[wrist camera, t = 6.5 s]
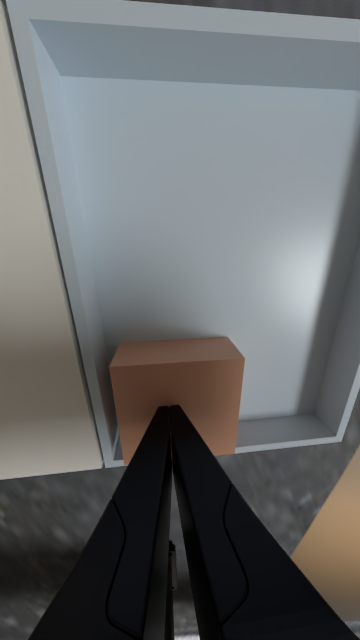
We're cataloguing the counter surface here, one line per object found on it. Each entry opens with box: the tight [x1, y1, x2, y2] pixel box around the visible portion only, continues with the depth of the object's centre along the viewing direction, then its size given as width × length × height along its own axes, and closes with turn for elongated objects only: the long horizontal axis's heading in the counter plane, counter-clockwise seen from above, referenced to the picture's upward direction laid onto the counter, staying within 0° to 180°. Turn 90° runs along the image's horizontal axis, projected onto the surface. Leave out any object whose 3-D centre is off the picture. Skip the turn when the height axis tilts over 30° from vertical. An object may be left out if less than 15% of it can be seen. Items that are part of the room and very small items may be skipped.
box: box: [6, 0, 360, 468], centre depth 8 cm, size 15×12×2 cm
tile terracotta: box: [109, 337, 245, 465], centre depth 9 cm, size 5×5×2 cm
